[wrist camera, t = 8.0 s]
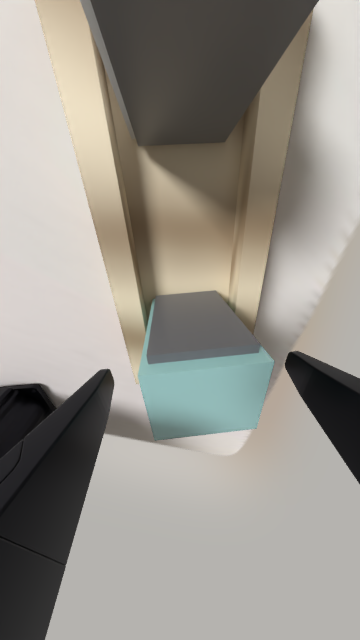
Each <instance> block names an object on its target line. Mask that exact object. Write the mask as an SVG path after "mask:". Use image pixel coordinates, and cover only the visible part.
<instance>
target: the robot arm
mask: <svg viewBox="0 0 360 640" xmlns="http://www.w3.org/2000/svg"><path fill="white" fill-rule="evenodd" d="M285 368H286V370H287V372H288V374H289V376H290V377H291V379H292V381H293V383H294V385H295V387H296V388H297V390H298V392H299V394H300V396H301V397H302V399H303V400H304V402H305V403H306V404H307V406H308V408H309V409H310V411H311V412H312V414H313V415H314V417H315V418H316V420H317V421H318V423H319V424H320V425H321V427H322V429H323V430H324V432H325V433H326V435H327V436H328V438H329V439H330V440H331V442H332V444H333V445H334V447H335V448H336V450H337V451H338V452H339V454H340V456H341V457H342V458H343V460H344V462H345V463H346V465H347V466H348V468H349V469H350V470H351V472H352V473H353V475H354V476H355V478H356V479H357V481H358V482H359V484H360V379H359V378H357V377H355V376H353V375H351V374H348V373H346V372H344V371H341V370H339V369H337V368H335V367H333V366H330V365H328V364H326V363H323V362H321V361H319V360H317V359H315V358H313V357H310V356H308V355H306V354H304V353H301V352H298V351H294V352H289V353H288V356H287V359H286V362H285ZM113 389H114V379H113V376H112V374H111V371H110V369H102V370H100V371H98V372H97V373H96V374H95V375H94V376H93V377H92V378H91V379H89V380H88V381H87V382H86V383H85V384H84V385H83V386H82V387H80V388H79V389H78V390H77V391H76V392H75V393H74V394H73V395H72V396H70V397H69V398H68V399H67V400H66V401H65V402H64V403H63V404H61V405H60V406H59V407H58V408H57V409H55V408H54V406H53V405H52V403H51V402H50V400H49V399H48V397H47V396H46V394H45V393H44V391H43V390H42V388H41V387H40V386H39V385H36V384H30V385H19V386H9V387H0V640H45V637H46V634H47V630H48V627H49V623H50V620H51V616H52V613H53V609H54V606H55V602H56V599H57V595H58V592H59V588H60V585H61V581H62V577H63V574H64V571H65V567H66V566H65V565H66V563H67V559H68V556H69V553H70V549H71V546H72V542H73V539H74V535H75V532H76V528H77V525H78V522H79V518H80V514H81V511H82V507H83V504H84V501H85V497H86V493H87V490H88V487H89V483H90V480H91V476H92V472H93V469H94V466H95V462H96V459H97V455H98V452H99V448H100V445H101V441H102V438H103V434H104V431H105V427H106V424H107V420H108V416H109V411H110V406H111V400H112V394H113Z"/></svg>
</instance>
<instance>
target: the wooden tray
mask: <svg viewBox="0 0 360 640" xmlns="http://www.w3.org/2000/svg"><path fill="white" fill-rule="evenodd" d="M35 3H36V7H37V11H38V14H39V18H40V22H41V26H42V30H43V33H44V37H45V41H46V45H47V49H48V52H49V56H50V60H51V64H52V67H53V71H54V75H55V79H56V83H57V86H58V90H59V94H60V98H61V102H62V105H63V109H64V113H65V117H66V120H67V124H68V128H69V132H70V136H71V139H72V143H73V147H74V151H75V155H76V158H77V162H78V166H79V170H80V173H81V177H82V181H83V185H84V189H85V192H86V196H87V200H88V204H89V208H90V211H91V215H92V219H93V223H94V226H95V230H96V234H97V238H98V242H99V245H100V249H101V253H102V257H103V261H104V264H105V268H106V272H107V276H108V279H109V283H110V287H111V291H112V295H113V298H114V302H115V306H116V310H117V314H118V317H119V321H120V325H121V329H122V333H123V336H124V340H125V344H126V348H127V351H128V355H129V359H130V363H131V367H132V370H133V374H134V378H135V382H136V384H140V383H139V380H138V372H139V366H140V361H141V356H142V351H143V346H144V341H145V336H146V331H147V326H148V320H149V315H150V310H151V305H152V300H153V299H155V298H156V296H158V295H169V294H180V293H191V292H202V291H213V290H216V291H217V293H218V294H219V295H220V296H221V297H222V299H223V300H224V301H225V302H226V303H227V305H228V306H229V307H230V308H231V309H232V311H233V312H234V313H235V314H236V315H237V317H238V318H239V319H240V320H241V321H242V323H243V324H244V325H245V326H246V327H247V329H248V330H249V331H250V332H251V333H252V335H253V333H254V327H255V322H256V316H257V311H258V306H259V300H260V295H261V289H262V284H263V278H264V273H265V268H266V262H267V257H268V251H269V246H270V241H271V235H272V230H273V224H274V219H275V214H276V208H277V203H278V197H279V192H280V187H281V181H282V176H283V170H284V165H285V159H286V154H287V149H288V143H289V138H290V132H291V127H292V122H293V116H294V111H295V105H296V100H297V95H298V89H299V84H300V78H301V73H302V67H303V62H304V57H305V51H306V46H307V40H308V35H309V30H310V24H311V19H312V13H313V10H312V11H311V13H310V14H309V16H308V17H307V19H306V20H305V22H304V23H303V25H302V26H301V28H300V30H299V31H298V33H297V34H296V36H295V37H294V39H293V40H292V42H291V43H290V45H289V46H288V48H287V49H286V51H285V52H284V54H283V55H282V57H281V58H280V60H279V61H278V63H277V64H276V66H275V67H274V69H273V70H272V72H271V73H270V75H269V76H268V78H267V79H266V81H265V82H264V84H263V85H262V87H261V88H260V90H259V91H258V93H257V94H256V96H255V97H254V99H253V100H252V102H251V103H250V105H249V106H248V108H247V110H246V111H245V113H244V114H243V116H242V117H241V119H240V120H239V122H238V123H237V125H236V126H235V128H234V129H233V131H232V132H231V134H230V135H229V137H228V138H227V140H226V141H225V142H222V143H199V144H177V145H154V146H138V144H137V141H136V139H133V140H132V139H131V136H130V133H129V131H128V128H127V125H126V123H125V120H124V117H123V115H122V112H121V109H120V107H119V104H118V101H117V99H116V96H115V93H114V90H113V88H112V85H111V82H110V80H109V77H108V74H107V72H106V69H105V66H104V64H103V61H102V58H101V56H100V53H99V50H98V48H97V45H96V42H95V40H94V37H93V34H92V32H91V29H90V26H89V24H88V21H87V18H86V16H85V13H84V10H83V8H82V5H81V2H80V0H35Z"/></svg>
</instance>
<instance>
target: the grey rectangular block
mask: <svg viewBox="0 0 360 640" xmlns="http://www.w3.org/2000/svg"><path fill="white" fill-rule="evenodd" d="M318 1H319V0H80V2H81V5H82V8H83V10H84V13H85V16H86V18H87V21H88V24H89V26H90V29H91V32H92V34H93V37H94V40H95V42H96V45H97V48H98V50H99V53H100V56H101V58H102V61H103V64H104V66H105V69H106V72H107V74H108V77H109V80H110V82H111V85H112V88H113V90H114V93H115V96H116V99H117V101H118V104H119V107H120V109H121V112H122V115H123V117H124V120H125V123H126V125H127V128H128V131H129V133H130V136H131V139H132V140H133V139H136V141H137V144H138V146H154V145H177V144H199V143H222V142H225V141H226V140H227V138H228V137H229V135H230V134H231V132H232V131H233V129H234V128H235V126H236V125H237V123H238V122H239V120H240V119H241V117H242V116H243V114H244V113H245V111H246V110H247V108H248V106H249V105H250V103H251V102H252V100H253V99H254V97H255V96H256V94H257V93H258V91H259V90H260V88H261V87H262V85H263V84H264V82H265V81H266V79H267V78H268V76H269V75H270V73H271V72H272V70H273V69H274V67H275V66H276V64H277V63H278V61H279V60H280V58H281V57H282V55H283V54H284V52H285V51H286V49H287V48H288V46H289V45H290V43H291V42H292V40H293V39H294V37H295V36H296V34H297V33H298V31H299V30H300V28H301V26H302V25H303V23H304V22H305V20H306V19H307V17H308V16H309V14H310V13H311V11H312V10H313V8H314V7H315V5H316V4H317V2H318Z"/></svg>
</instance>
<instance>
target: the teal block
mask: <svg viewBox="0 0 360 640" xmlns="http://www.w3.org/2000/svg"><path fill="white" fill-rule="evenodd" d="M274 362H275V361H274V360H273V359H272V358H271V357H270V355H269V354H268V353H267V352H266V351H265V349H264V348H263V347H262V346H261V345H260V343H259V342H258V341H257V339H256V338H255V337H254V336H253V335H252V333H251V332H250V331H249V330H248V329H247V327H246V326H245V325H244V324H243V323H242V321H241V320H240V319H239V318H238V317H237V315H236V314H235V313H234V312H233V311H232V309H231V308H230V307H229V306H228V305H227V303H226V302H225V301H224V300H223V299H222V297H221V296H220V295H219V294H218V293H217V291H216V290H213V291H202V292H191V293H180V294H169V295H158V296H156V298H155V299H153V300H152V305H151V310H150V315H149V320H148V326H147V331H146V336H145V341H144V346H143V351H142V356H141V361H140V366H139V372H138V380H139V383H140V387H141V391H142V395H143V398H144V402H145V406H146V410H147V413H148V417H149V421H150V425H151V428H152V432H153V436H154V440H155V441H156V440H164V439H173V438H181V437H189V436H198V435H206V434H215V433H223V432H231V431H240V430H248V429H256V428H257V425H258V421H259V417H260V414H261V410H262V406H263V403H264V399H265V395H266V392H267V388H268V384H269V381H270V377H271V373H272V370H273V366H274Z"/></svg>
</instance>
